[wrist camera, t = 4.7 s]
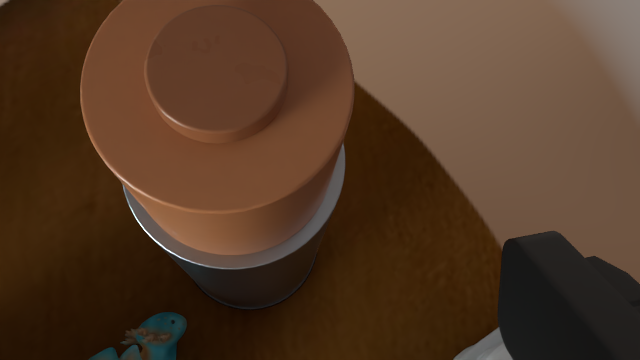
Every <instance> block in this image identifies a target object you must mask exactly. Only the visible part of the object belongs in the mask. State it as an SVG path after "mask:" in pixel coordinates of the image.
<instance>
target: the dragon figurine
mask: <svg viewBox="0 0 640 360" xmlns="http://www.w3.org/2000/svg"><path fill="white" fill-rule="evenodd" d="M186 327H187V321H186V319H185V318H184V317H183V316H181V315H179V314H177V313H173V312H163V313H159V314H156V315H154V316H152V317H150V318H149V319H147V320H146V321H145V322H143V323H142V324H141V325H140V327H139V328H138V329H137V330H135V329H131V331H126V334H125V336H126V337H128V338H126V339H125V340H127V341H123V342H120V343H122V344H125V345H127V346H128V345H131V344H139V345H141V346H142V348H143V349H142V352H141V353H139V349H138V346H137V345H132V346H131V347H129V348H128V349H127V350H126V351H125V352H124V353H123V354H122V355H121V357H120V359H119V358H118V356H117V353H116V350H115V349H114V348H113V347H110V348H107V349H105V350H103V351H101V352H99V353H98V354H96V355H95V356H93V357H91V358H90V359H88V360H176V349H177V342H178V340H179V339H180V338H181V337H182V336H183V334H184V333H185V330H186ZM130 337H133V338H130Z"/></svg>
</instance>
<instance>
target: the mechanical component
mask: <svg viewBox="0 0 640 360" xmlns="http://www.w3.org/2000/svg"><path fill="white" fill-rule="evenodd" d="M453 360H513V359H512V357H511V356H510V354H509V353H508V351H507V349H506V347H505V345H504V342H503V340H502V337H501V333H500V329H499V328H497V329H496V330H494V331H493V332H492V333H490V334H489V335H488V336H486V337H485V338H483V339H482V340H481V341H479V342H478V343H476V344H475V345H472V346H470V347H468V348H466V349H464V350H463V351H462V352H461V353H459V354H458V355H457V356H456V357H455V358H454V359H453Z"/></svg>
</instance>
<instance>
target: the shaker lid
mask: <svg viewBox="0 0 640 360" xmlns="http://www.w3.org/2000/svg"><path fill="white" fill-rule="evenodd" d="M80 99H81V108H82V114H83V120H84V123H85V126H86V129H87V132H88V135H89V137H90V139H91V141H92V143H93V145H94V147H95V149H96V151H97V152H98V154H99V155H100V157H101V158H102V159H103V161H104V162H105V164H106V165H107V166H108V167H109V169H110V170H111V171H112V172H113V173H114V174H115V176H116V177H117V178H118V179H119V180H120V181H121V183H122V184H123V185H124V186H125V187H126V188H127V189H128V191H129V192H130V193H131V194H132V195H133V196H134V198H135V199H136V200H137V201H138V202H139V203H140V205H141V206H142V207H143V208H144V209H145V210H146V211H147V213H148V214H149V215H150V216H151V217H152V218H153V220H154V221H155V222H156V223H157V224H158V225H159V226H160V227H161V228H162V229H163V230H164V231H166V232H167V233H168V234H169V235H171V236H172V237H173V238H175V239H176V240H178V241H180V242H181V243H183V244H185V245H187V246H190V247H192V248H194V249H197V250H200V251H204V252H207V253H212V254H219V255H244V254H251V253H255V252H259V251H263V250H266V249H269V248H271V247H274V246H276V245H278V244H280V243H282V242H284V241H285V240H287V239H289V238H290V237H292V236H293V235H294V234H296V233H297V232H298V231H300V230H301V229H302V228H303V227H304V226H305V225H306V224H307V223H308V222H309V221H310V219H311V218H312V217H313V216H314V214H315V213H316V212H317V210H318V209H319V207H320V205H321V203H322V202H323V200H324V197H325V195H326V193H327V190H328V188H329V185H330V181H331V178H332V175H333V172H334V169H335V166H336V163H337V160H338V157H339V153H340V150H341V147H342V144H343V141H344V138H345V135H346V132H347V129H348V125H349V122H350V118H351V114H352V110H353V102H354V75H353V69H352V64H351V60H350V57H349V54H348V51H347V47H346V45H345V43H344V41H343V39H342V37H341V35H340V33H339V31H338V30H337V28H336V27H335V25H334V24H333V22H332V20H331V19H330V18H329V17H328V16H327V15H326V13H325V12H324V11H323V10H322V9H321V7H320V6H318V5H317V4H316V3H315V2H314V1H313V0H123V1H122V2H121V3H120V4H119V5H118V6H117V7H116V8H115V9H114V10H113V11H112V12H111V13H110V15H109V16H108V17H107V18H106V20H105V21H104V22H103V23H102V25H101V26H100V28H99V30H98V31H97V33H96V35H95V36H94V38H93V40H92V42H91V45H90V47H89V49H88V52H87V54H86V58H85V62H84V65H83V69H82V76H81V84H80Z"/></svg>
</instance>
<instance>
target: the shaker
mask: <svg viewBox="0 0 640 360" xmlns="http://www.w3.org/2000/svg"><path fill="white" fill-rule="evenodd" d="M344 174H345V150H344V144H342V147H341V150H340V153H339V157H338V160H337V163H336V166H335V169H334V172H333V175H332V178H331V181H330V185H329V188H328V190H327V193H326V195H325V197H324V200H323V202H322V203H321V205H320V207H319V209H318V210H317V212H316V213H315V214H314V216H313V217H312V218H311V219H310V221H309V222H308V223H307V224H306V225H305V226H304V227H303V228H302V229H301V230H300V231H298V232H297V233H296V234H294V235H293V236H292V237H290V238H289V239H287V240H285V241H284V242H282V243H280V244H278V245H276V246H274V247H271V248H269V249H266V250H263V251H259V252H255V253H251V254H244V255H219V254H212V253H207V252H204V251H200V250H197V249H194V248H192V247H190V246H187V245H185V244H183V243H181V242H180V241H178V240H176V239H175V238H173V237H172V236H171V235H169V234H168V233H167V232H166V231H164V230H163V229H162V228H161V227H160V226H159V225H158V224H157V223H156V222H155V221H154V220H153V218H152V217H151V216H150V215H149V214H148V213H147V211H146V210H145V209H144V208H143V207H142V206H141V205H140V203H139V202H138V201H137V200H136V199H135V198H134V196H133V195H132V194H131V193H130V192H129V191H128V189H127V188H126V187H125V186H124V185H123V190H124V193H125V196H126V199H127V202H128V205H129V207H130V209H131V211H132V213H133V215H134V217H135V218H136V220H137V221H138V223H139V224H140V225H141V227H142V228H143V230H144V231H145V232H146V233H147V234H148V235H149V236H150V237H151V238H152V239H153V240H154V241H155V242H156V243H157V244H158V245H159V246H160V247H161V248H162V249H163V250H164V251H165V252H166V253H167V254H168V255H169V256H170V257H171V258H172V259H173V260H174V261H175V262H176V263H177V264H178V265H179V266H180V267H181V268H182V269H183V270H184V271H185V272H186V273H187V274H188V275H189V276H190V277H191V278H192V279H193V281H194V282H195V283H196V285H197V286H198V287H199V288H200V289H201V290H202V291H203V292H204V293H205V294H206V295H207V296H209V297H210V298H211V299H213V300H214V301H216V302H218V303H220V304H222V305H224V306H227V307H230V308H234V309H239V310H259V309H265V308H268V307H272V306H274V305H277V304H279V303H281V302H283V301H284V300H286V299H288V298H289V297H290V296H292V295H293V294H294V293H295V292H296V291H297V290H298V289H299V288H300V287H301V286H302V285H303V283H304V282H305V281H306V279H307V278H308V276H309V274H310V272H311V270H312V268H313V265H314V263H315V259H316V255H317V250H318V248H319V245H320V243H321V240H322V238H323V236H324V233H325V231H326V228H327V226H328V223H329V221H330V218H331V216H332V213H333V211H334V208H335V206H336V203H337V201H338V199H339V196H340V193H341V189H342V185H343V182H344Z"/></svg>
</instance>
